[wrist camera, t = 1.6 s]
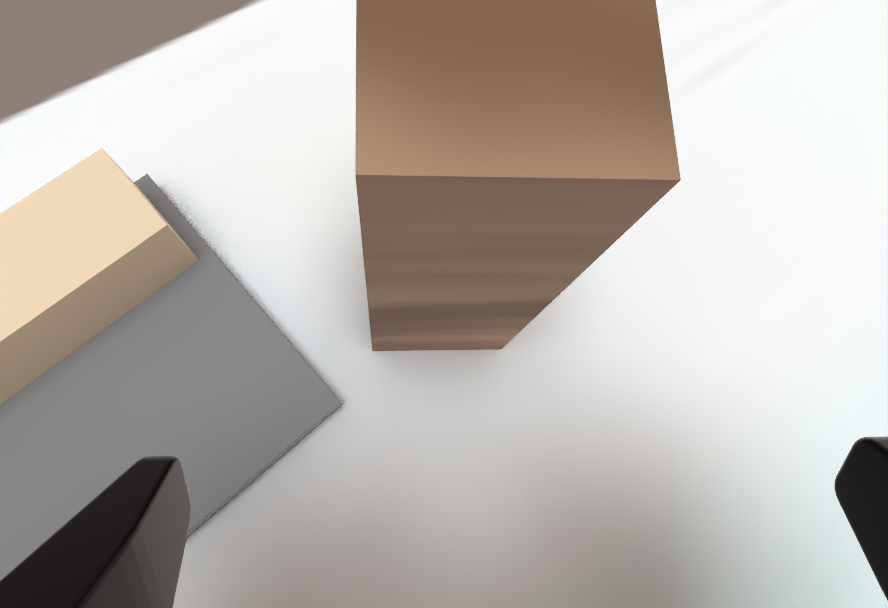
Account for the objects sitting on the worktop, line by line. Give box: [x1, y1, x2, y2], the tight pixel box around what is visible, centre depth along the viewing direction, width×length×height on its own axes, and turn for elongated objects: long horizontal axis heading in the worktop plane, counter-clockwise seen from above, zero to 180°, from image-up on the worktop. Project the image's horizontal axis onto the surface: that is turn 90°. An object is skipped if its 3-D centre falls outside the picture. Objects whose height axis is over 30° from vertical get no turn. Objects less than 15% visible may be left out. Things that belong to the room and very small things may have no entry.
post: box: [356, 0, 681, 351], centre depth 15 cm, size 4×4×13 cm
